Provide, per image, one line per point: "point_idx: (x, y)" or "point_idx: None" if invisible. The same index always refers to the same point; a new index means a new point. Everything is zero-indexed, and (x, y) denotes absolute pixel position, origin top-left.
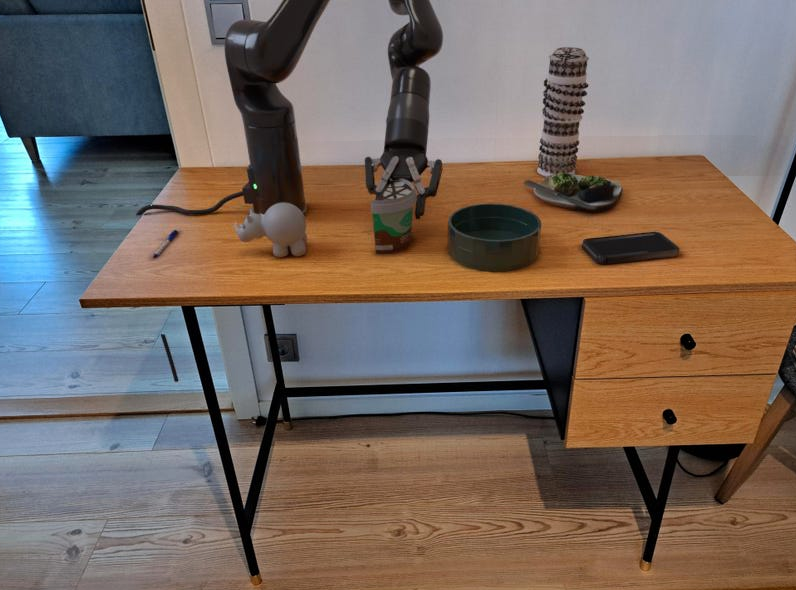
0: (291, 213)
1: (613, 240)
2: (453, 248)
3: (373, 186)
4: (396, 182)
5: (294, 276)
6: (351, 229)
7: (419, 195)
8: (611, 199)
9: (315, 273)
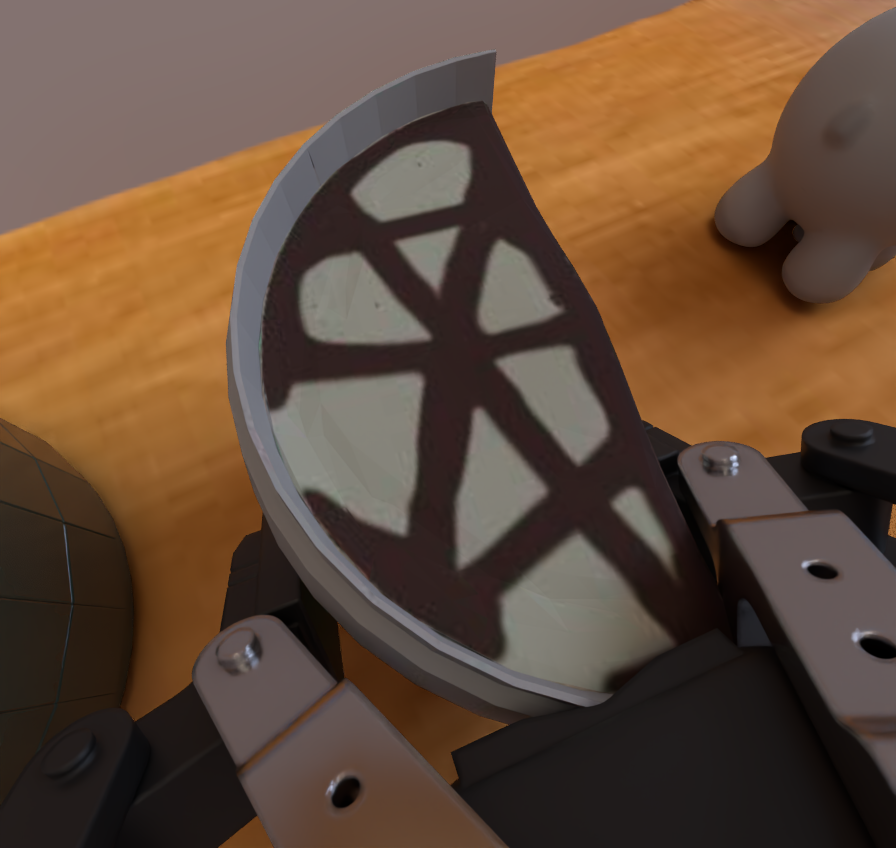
0: (891, 28)
1: None
2: (25, 434)
3: (816, 482)
4: (634, 644)
5: (621, 123)
6: None
7: (268, 609)
8: None
9: (576, 158)
